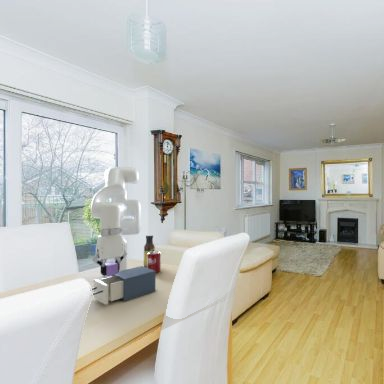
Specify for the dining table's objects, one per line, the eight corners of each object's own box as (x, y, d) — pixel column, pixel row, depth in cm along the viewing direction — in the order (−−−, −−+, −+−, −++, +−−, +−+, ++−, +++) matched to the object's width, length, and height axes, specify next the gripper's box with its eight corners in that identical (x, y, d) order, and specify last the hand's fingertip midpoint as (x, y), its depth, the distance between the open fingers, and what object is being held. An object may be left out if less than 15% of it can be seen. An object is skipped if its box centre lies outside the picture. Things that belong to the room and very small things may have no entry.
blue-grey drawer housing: (124, 301, 112) (124, 279, 112) (111, 293, 120) (111, 273, 120) (155, 290, 123) (155, 270, 123) (141, 284, 131) (141, 265, 131)
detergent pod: (102, 274, 113) (102, 263, 113) (113, 271, 116) (113, 261, 116) (107, 276, 110) (107, 265, 110) (117, 273, 114) (118, 263, 114)
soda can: (152, 276, 144) (152, 254, 144) (144, 273, 148) (144, 252, 148) (163, 272, 150) (163, 252, 150) (155, 270, 154) (155, 250, 154)
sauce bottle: (153, 268, 157) (154, 236, 157) (142, 269, 156) (142, 236, 156) (155, 265, 164) (155, 234, 163) (144, 266, 162) (144, 234, 162)
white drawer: (89, 309, 102) (89, 290, 102) (78, 301, 109) (78, 283, 109) (137, 294, 117) (137, 277, 117) (125, 288, 124) (125, 272, 124)
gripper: (125, 228, 122) (125, 267, 122) (85, 233, 109) (85, 276, 109) (133, 230, 117) (133, 270, 118) (92, 235, 104) (92, 280, 104)
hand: (110, 273), depth 113 cm, fingers closed on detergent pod, 4 cm apart
